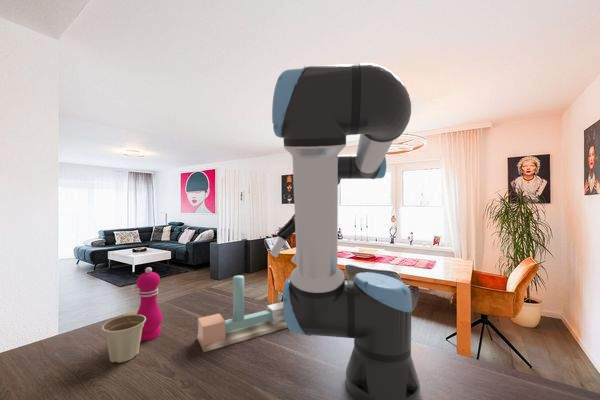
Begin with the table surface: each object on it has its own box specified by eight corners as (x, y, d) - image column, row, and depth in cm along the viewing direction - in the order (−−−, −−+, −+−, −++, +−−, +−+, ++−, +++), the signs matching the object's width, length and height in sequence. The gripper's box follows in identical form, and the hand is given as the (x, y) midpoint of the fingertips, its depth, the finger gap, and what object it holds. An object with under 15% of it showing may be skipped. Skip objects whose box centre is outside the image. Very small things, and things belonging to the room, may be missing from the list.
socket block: (219, 330, 79) (219, 313, 79) (225, 339, 74) (225, 321, 74) (198, 335, 76) (198, 318, 76) (202, 345, 70) (202, 327, 70)
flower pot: (131, 342, 74) (131, 311, 74) (154, 351, 70) (154, 318, 70) (93, 361, 66) (93, 326, 66) (116, 372, 62) (116, 335, 62)
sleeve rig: (288, 314, 92) (288, 298, 92) (300, 323, 86) (300, 306, 86) (197, 338, 76) (197, 319, 76) (203, 352, 70) (203, 330, 70)
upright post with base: (273, 315, 87) (273, 269, 86) (277, 319, 84) (278, 272, 84) (206, 332, 75) (206, 280, 75) (209, 337, 73) (209, 283, 73)
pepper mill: (140, 345, 73) (140, 272, 73) (129, 336, 77) (129, 267, 77) (167, 334, 79) (167, 266, 79) (155, 326, 83) (155, 262, 83)
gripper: (346, 212, 83) (314, 273, 76) (301, 210, 104) (272, 258, 97) (331, 198, 80) (296, 260, 73) (287, 198, 101) (257, 247, 94)
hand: (283, 259), depth 85 cm, fingers open, 13 cm apart
